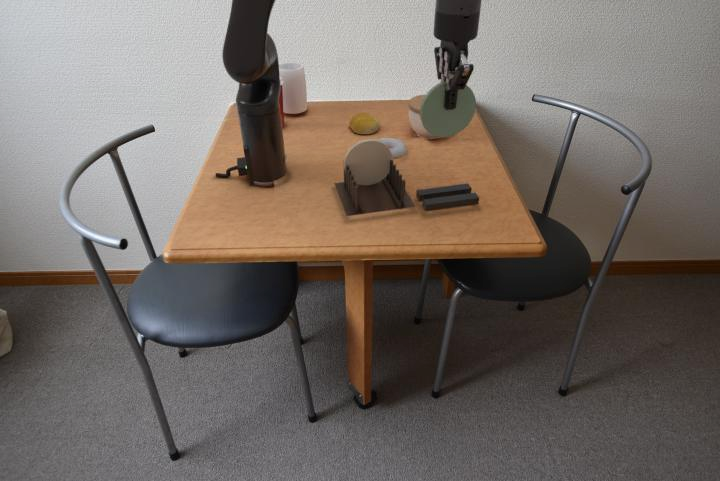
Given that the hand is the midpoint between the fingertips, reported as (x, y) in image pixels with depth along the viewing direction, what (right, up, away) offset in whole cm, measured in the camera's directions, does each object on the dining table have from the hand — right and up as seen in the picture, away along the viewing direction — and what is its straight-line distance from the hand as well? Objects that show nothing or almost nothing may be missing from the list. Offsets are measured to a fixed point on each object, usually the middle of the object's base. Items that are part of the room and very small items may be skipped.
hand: (448, 107), depth 90 cm
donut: (-10, -4, +33) cm, 35 cm away
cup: (-37, +14, +57) cm, 69 cm away
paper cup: (-42, +8, +49) cm, 65 cm away
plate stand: (+2, -18, +14) cm, 22 cm away
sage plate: (0, -5, +4) cm, 6 cm away
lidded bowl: (+3, +4, +44) cm, 44 cm away
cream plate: (-15, -13, +18) cm, 27 cm away
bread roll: (-16, +7, +47) cm, 50 cm away
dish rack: (-14, -16, +16) cm, 27 cm away
